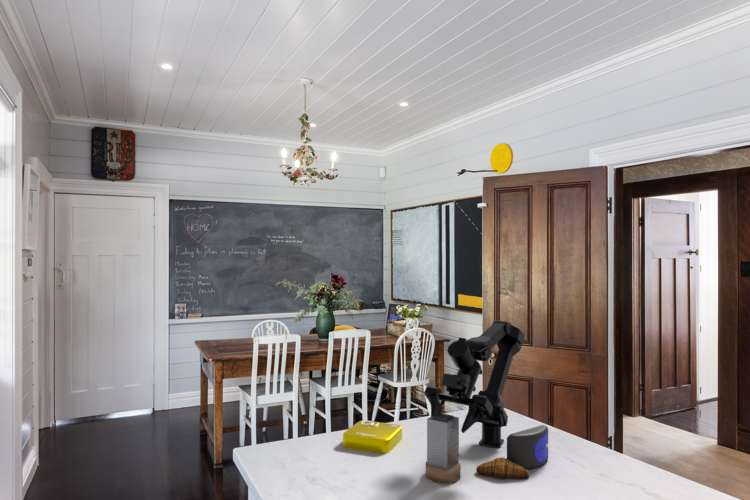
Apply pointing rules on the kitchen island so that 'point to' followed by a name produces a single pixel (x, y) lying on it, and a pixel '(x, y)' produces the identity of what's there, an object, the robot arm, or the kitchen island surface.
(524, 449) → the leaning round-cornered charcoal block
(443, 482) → the walnut stand
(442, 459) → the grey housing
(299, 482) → the kitchen island surface
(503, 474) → the croissant
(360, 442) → the element tile
